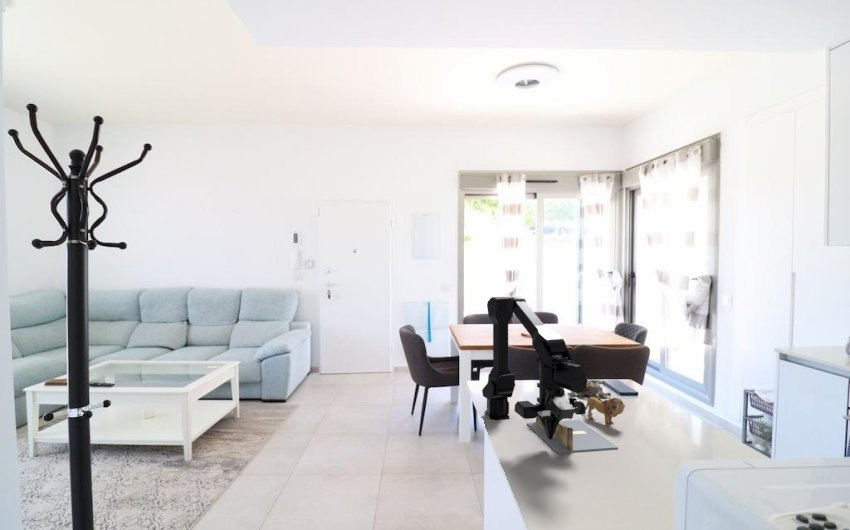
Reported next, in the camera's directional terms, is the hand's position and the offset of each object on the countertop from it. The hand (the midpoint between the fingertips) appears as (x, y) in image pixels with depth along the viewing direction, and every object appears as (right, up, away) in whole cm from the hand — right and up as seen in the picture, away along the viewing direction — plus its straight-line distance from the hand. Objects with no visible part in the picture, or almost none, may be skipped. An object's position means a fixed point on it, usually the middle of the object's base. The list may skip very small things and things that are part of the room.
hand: (549, 438), depth 104 cm
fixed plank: (+3, -3, +12) cm, 13 cm away
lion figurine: (+24, -3, +19) cm, 30 cm away
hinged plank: (+4, -2, +2) cm, 5 cm away
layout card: (+8, -3, +8) cm, 12 cm away
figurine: (+29, -4, +44) cm, 52 cm away
